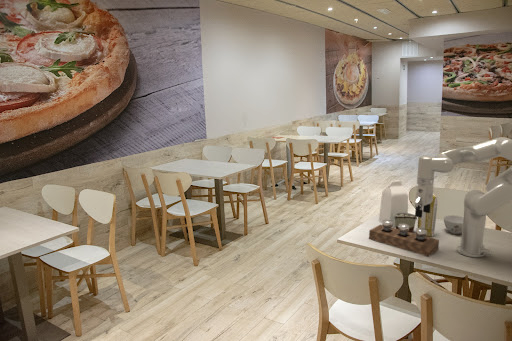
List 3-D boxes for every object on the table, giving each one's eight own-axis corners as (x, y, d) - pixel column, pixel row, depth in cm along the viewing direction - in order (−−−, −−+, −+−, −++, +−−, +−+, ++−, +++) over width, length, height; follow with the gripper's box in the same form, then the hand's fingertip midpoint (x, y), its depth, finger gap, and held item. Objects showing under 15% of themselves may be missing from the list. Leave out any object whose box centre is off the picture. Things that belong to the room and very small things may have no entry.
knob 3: (427, 241, 204) (428, 229, 203) (423, 244, 201) (424, 232, 199) (417, 238, 208) (418, 226, 206) (412, 241, 204) (414, 229, 203)
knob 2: (410, 237, 210) (411, 225, 209) (405, 239, 207) (406, 227, 205) (400, 234, 214) (401, 222, 212) (396, 237, 210) (396, 225, 209)
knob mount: (438, 249, 204) (439, 239, 203) (428, 256, 196) (429, 246, 195) (379, 232, 226) (380, 224, 225) (368, 238, 218) (369, 230, 217)
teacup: (439, 232, 226) (441, 219, 224) (445, 226, 235) (447, 213, 234) (469, 239, 217) (471, 225, 215) (474, 232, 226) (476, 219, 224)
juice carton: (416, 230, 230) (419, 189, 224) (430, 231, 228) (434, 190, 223) (419, 236, 221) (423, 194, 215) (435, 237, 219) (439, 195, 214)
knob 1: (393, 232, 216) (394, 221, 215) (389, 235, 213) (389, 223, 211) (384, 230, 220) (385, 218, 219) (380, 232, 216) (380, 221, 215)
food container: (412, 229, 232) (414, 212, 229) (415, 233, 226) (417, 216, 223) (390, 228, 233) (391, 212, 231) (393, 232, 227) (394, 215, 225)
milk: (389, 227, 235) (392, 184, 229) (378, 220, 246) (381, 179, 240) (407, 225, 238) (411, 182, 232) (396, 219, 248) (399, 178, 243)
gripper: (425, 185, 189) (422, 220, 193) (440, 179, 201) (437, 212, 205) (409, 183, 194) (407, 217, 198) (425, 176, 206) (422, 209, 210)
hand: (422, 214), depth 201 cm, fingers open, 9 cm apart
